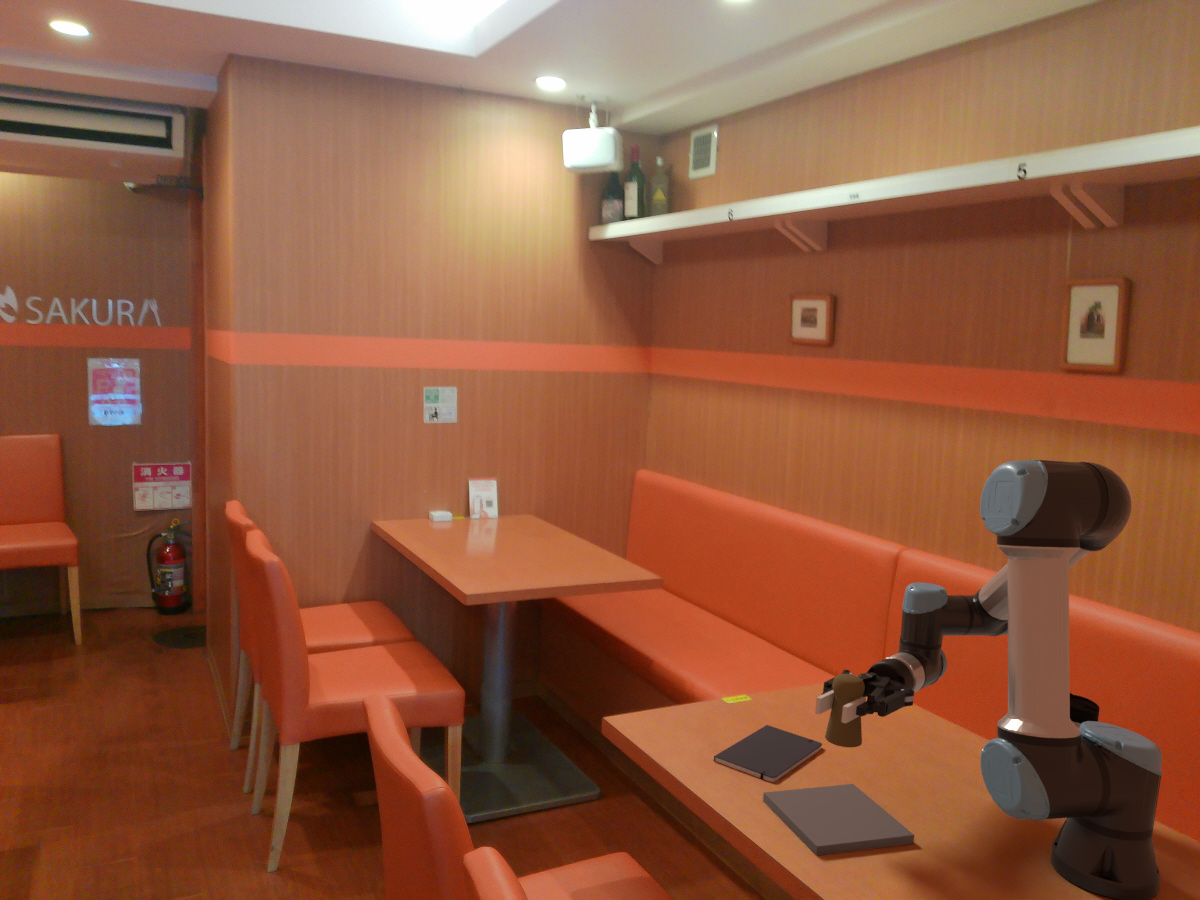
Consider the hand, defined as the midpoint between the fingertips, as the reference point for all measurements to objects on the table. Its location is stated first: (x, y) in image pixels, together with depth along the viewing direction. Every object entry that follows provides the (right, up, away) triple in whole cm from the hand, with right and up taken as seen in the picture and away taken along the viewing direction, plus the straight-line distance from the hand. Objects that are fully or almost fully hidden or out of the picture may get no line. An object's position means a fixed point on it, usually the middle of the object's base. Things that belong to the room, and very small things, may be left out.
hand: (831, 710), depth 154 cm
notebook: (-4, -18, +31) cm, 36 cm away
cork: (+3, -6, +5) cm, 9 cm away
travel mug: (+47, -22, +18) cm, 55 cm away
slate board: (+2, -21, +6) cm, 22 cm away
